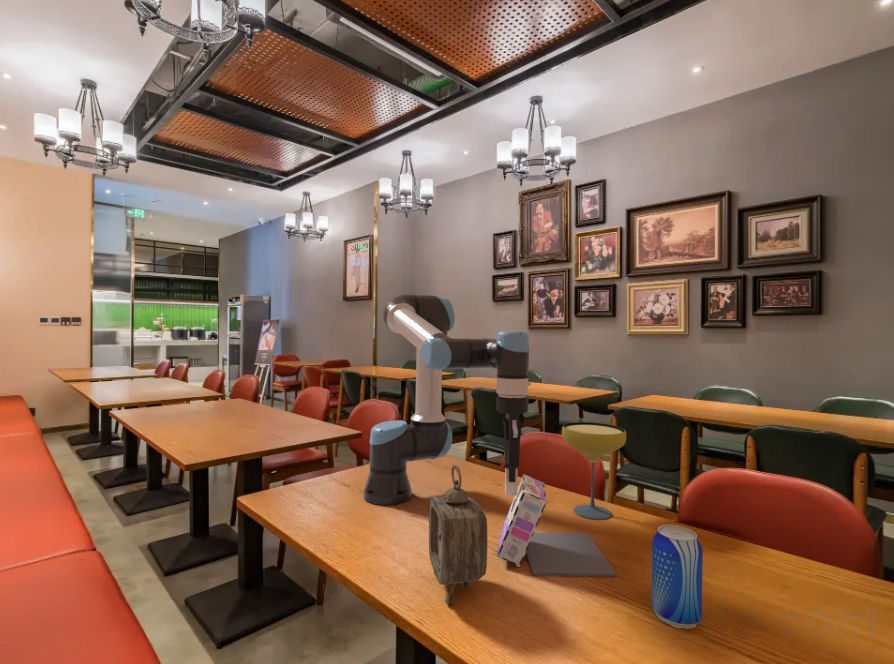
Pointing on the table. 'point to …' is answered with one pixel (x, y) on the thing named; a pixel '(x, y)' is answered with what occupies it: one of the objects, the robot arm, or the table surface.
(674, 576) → the beer can
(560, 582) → the table surface
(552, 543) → the mat
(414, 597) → the table surface
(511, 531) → the candy box
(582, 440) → the cocktail glass
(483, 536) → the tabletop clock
